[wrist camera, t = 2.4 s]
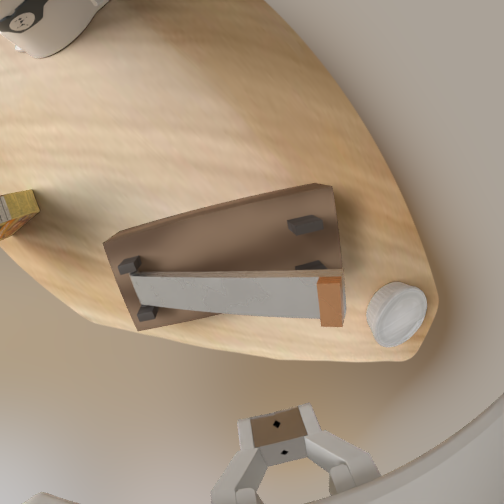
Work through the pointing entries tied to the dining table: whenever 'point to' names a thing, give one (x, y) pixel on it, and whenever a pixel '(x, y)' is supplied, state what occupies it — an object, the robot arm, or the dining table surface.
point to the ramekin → (396, 313)
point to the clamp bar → (248, 293)
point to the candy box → (16, 211)
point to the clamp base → (228, 244)
